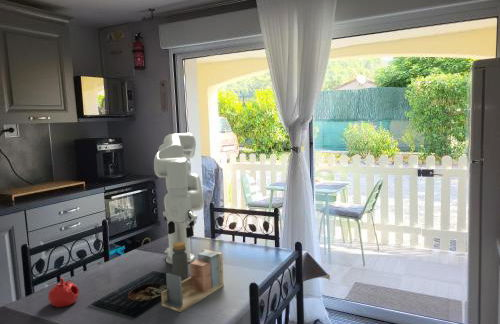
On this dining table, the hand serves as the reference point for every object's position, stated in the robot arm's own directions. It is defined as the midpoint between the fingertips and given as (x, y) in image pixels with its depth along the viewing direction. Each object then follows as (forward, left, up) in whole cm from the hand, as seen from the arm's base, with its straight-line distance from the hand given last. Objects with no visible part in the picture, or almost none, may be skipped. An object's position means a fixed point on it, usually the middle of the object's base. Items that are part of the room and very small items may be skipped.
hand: (180, 235), depth 149 cm
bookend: (+13, -18, -17) cm, 28 cm away
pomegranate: (-24, -36, -19) cm, 47 cm away
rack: (+13, -8, -19) cm, 24 cm away
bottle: (-1, -1, -19) cm, 19 cm away
